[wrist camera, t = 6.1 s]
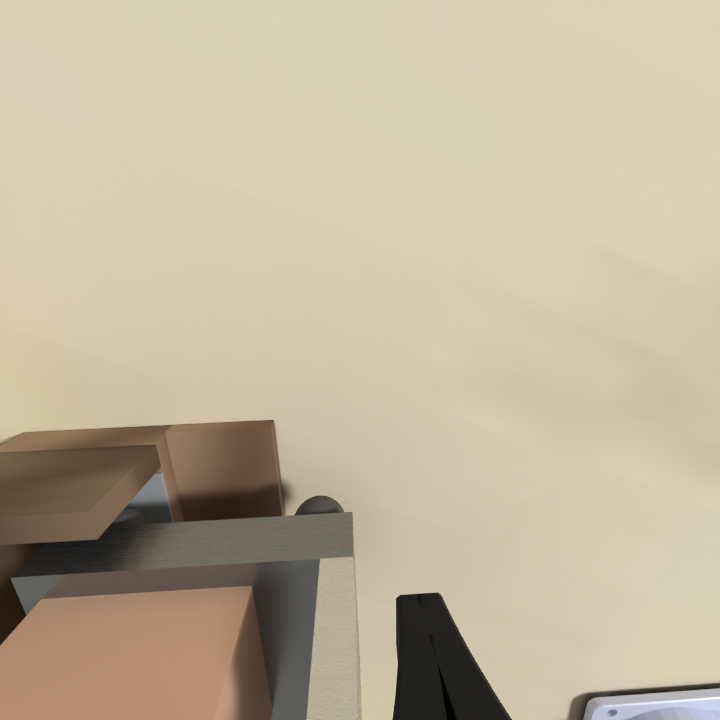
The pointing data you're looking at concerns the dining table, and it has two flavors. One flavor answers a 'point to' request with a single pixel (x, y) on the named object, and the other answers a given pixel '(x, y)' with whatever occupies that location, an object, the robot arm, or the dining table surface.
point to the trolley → (190, 622)
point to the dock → (127, 485)
